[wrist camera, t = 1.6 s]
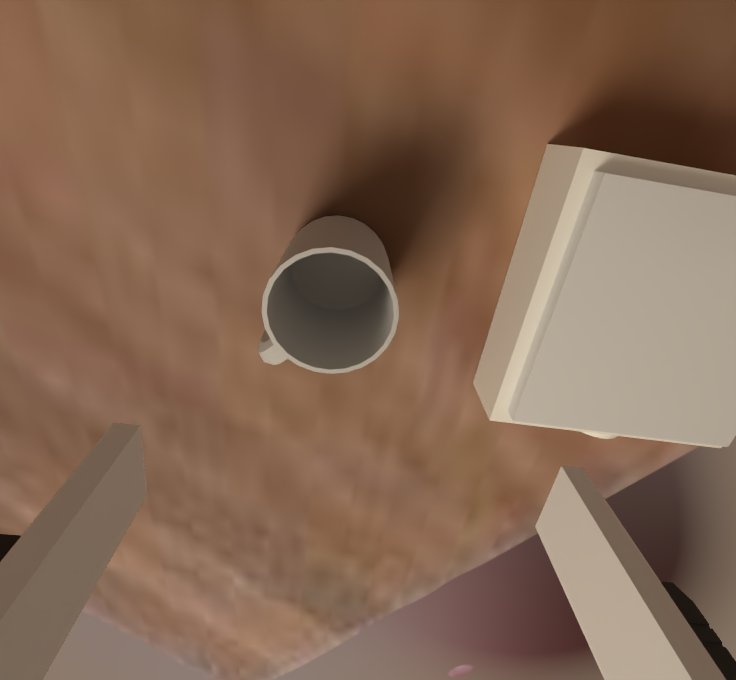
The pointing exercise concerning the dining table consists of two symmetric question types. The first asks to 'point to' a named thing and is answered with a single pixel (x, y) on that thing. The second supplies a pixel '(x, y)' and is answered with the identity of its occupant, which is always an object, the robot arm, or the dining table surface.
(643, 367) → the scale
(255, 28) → the dining table surface
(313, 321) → the cup
